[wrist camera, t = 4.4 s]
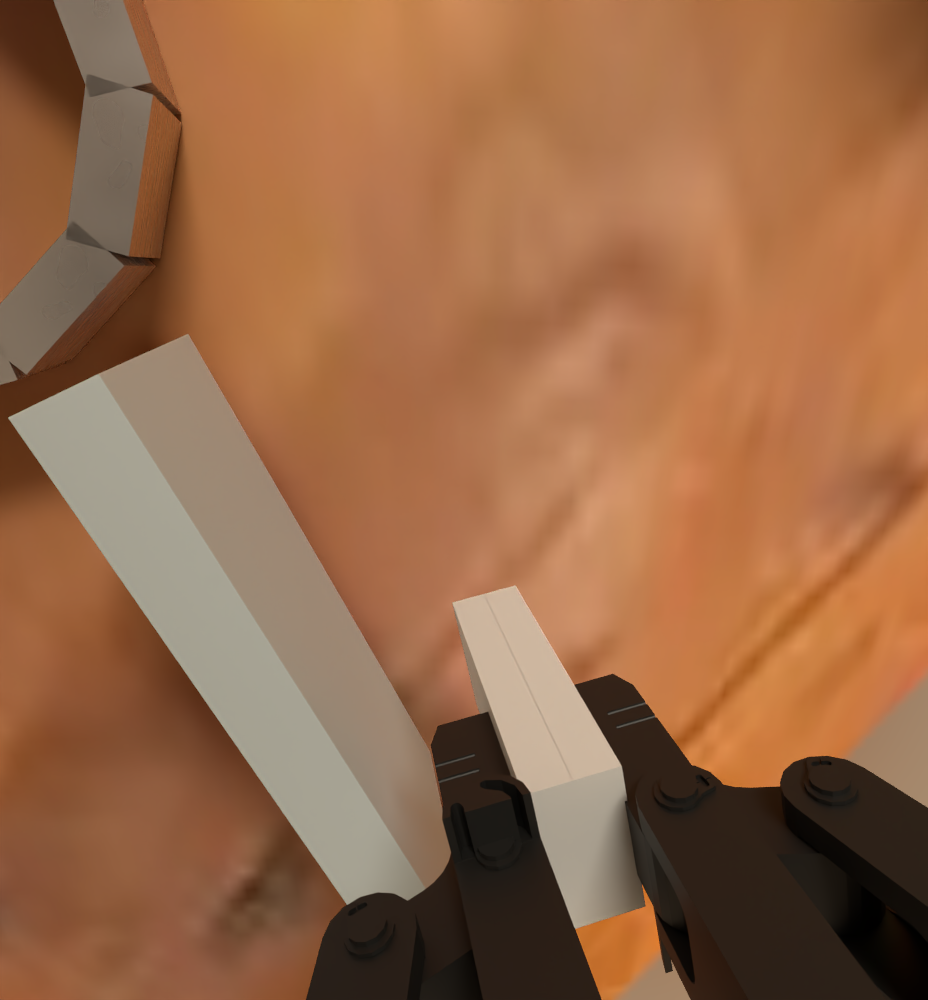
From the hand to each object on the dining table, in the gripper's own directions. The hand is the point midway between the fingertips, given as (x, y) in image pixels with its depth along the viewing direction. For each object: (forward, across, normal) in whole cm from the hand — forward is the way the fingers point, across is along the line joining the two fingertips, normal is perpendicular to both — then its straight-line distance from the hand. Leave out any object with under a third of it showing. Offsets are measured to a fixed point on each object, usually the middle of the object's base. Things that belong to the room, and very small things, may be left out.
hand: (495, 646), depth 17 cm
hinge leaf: (+5, -4, +1) cm, 6 cm away
